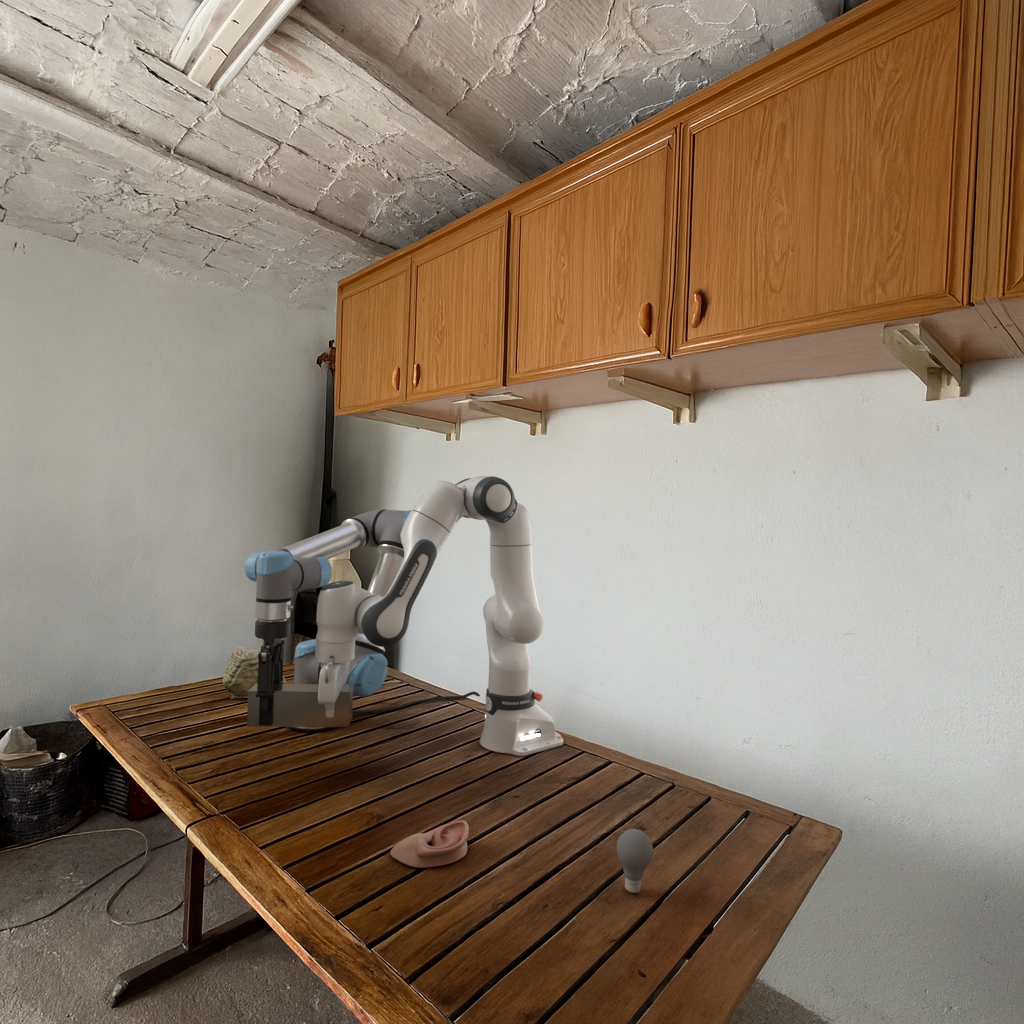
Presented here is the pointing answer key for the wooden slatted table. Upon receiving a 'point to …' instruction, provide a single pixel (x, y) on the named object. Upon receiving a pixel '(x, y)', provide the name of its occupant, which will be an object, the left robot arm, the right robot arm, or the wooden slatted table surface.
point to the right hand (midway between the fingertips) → (332, 711)
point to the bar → (301, 707)
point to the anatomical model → (434, 846)
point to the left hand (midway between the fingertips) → (269, 719)
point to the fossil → (242, 672)
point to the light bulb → (634, 857)
